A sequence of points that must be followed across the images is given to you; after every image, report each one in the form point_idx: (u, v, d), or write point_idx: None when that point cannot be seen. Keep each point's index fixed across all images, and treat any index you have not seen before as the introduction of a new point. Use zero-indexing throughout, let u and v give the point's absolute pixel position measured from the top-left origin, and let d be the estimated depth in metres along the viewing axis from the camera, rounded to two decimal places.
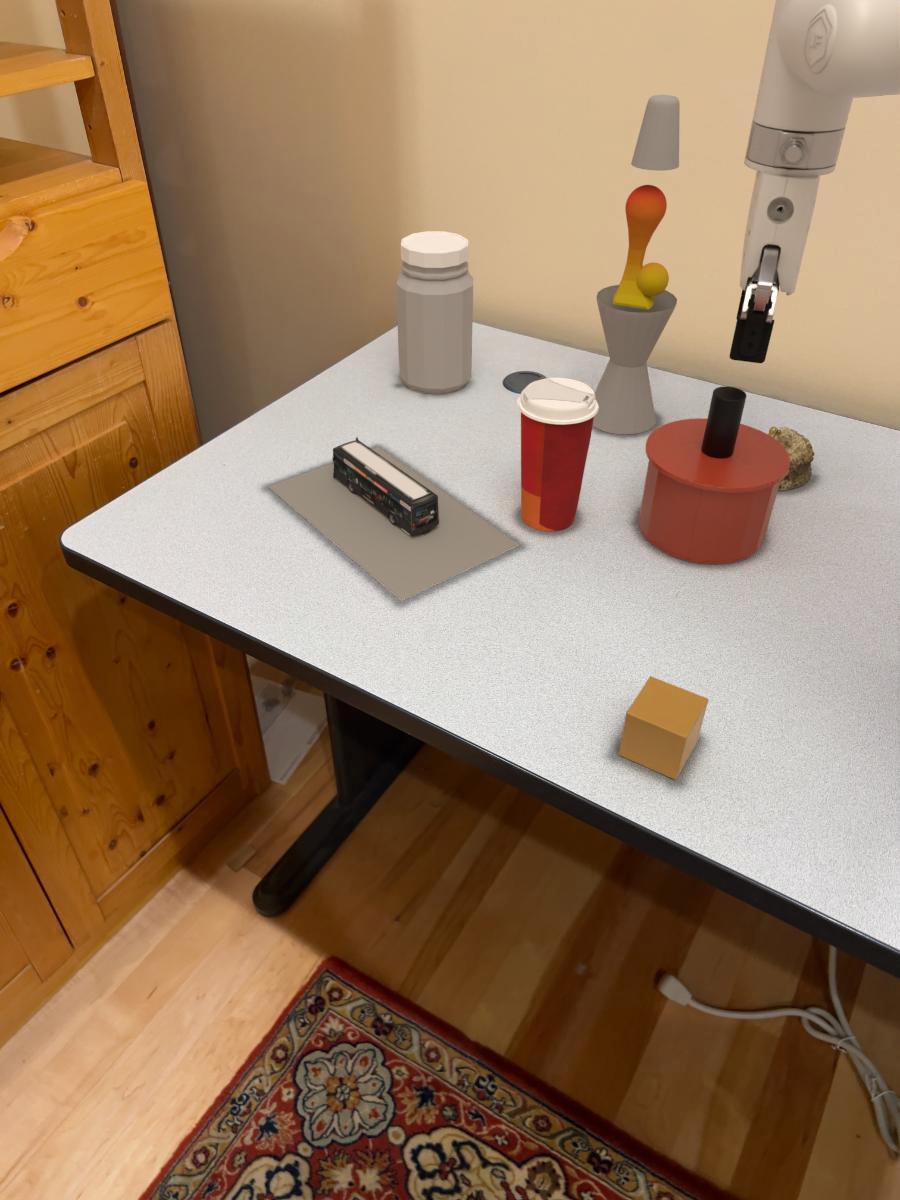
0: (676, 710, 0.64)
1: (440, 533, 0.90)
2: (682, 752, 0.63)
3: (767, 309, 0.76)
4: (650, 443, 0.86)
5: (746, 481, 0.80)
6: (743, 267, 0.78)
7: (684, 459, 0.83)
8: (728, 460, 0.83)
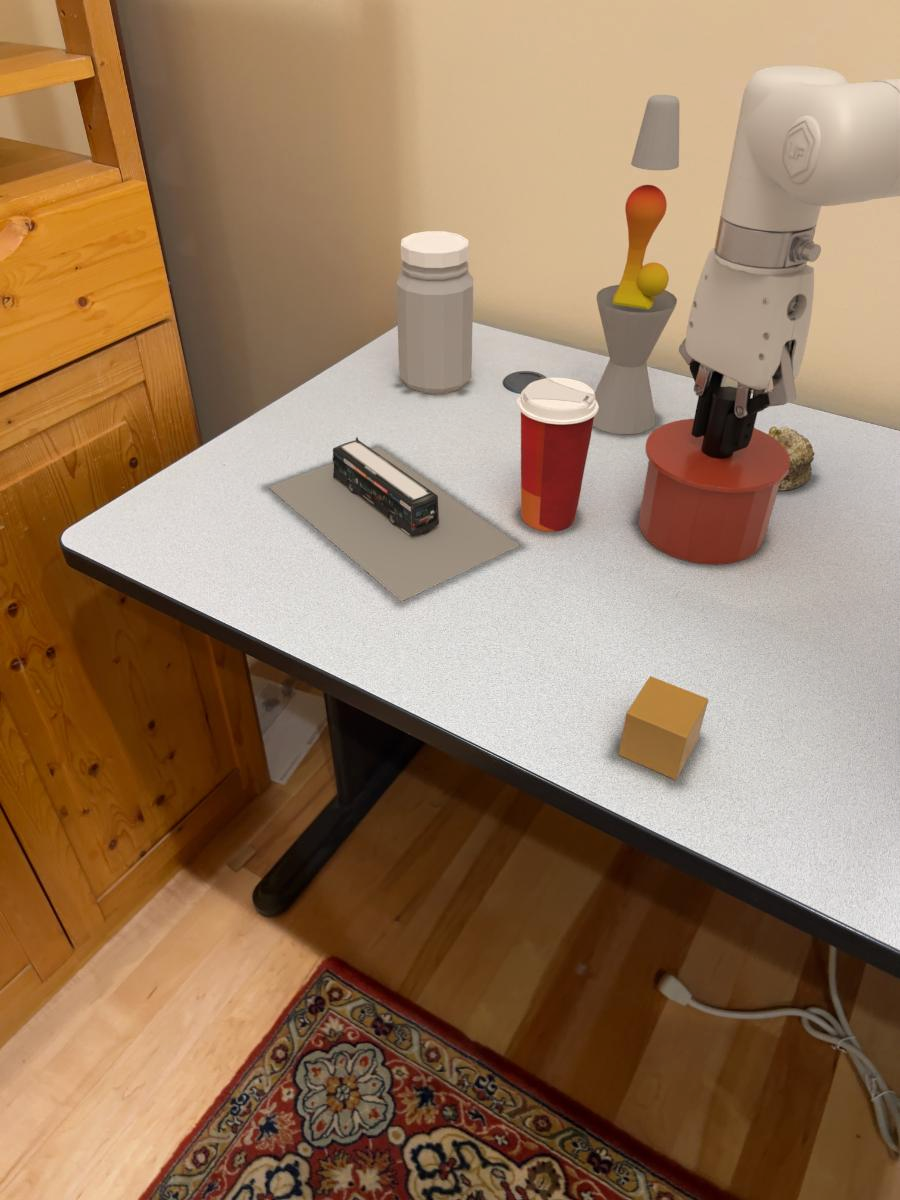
0: (676, 710, 0.64)
1: (440, 533, 0.90)
2: (682, 752, 0.63)
3: None
4: (650, 443, 0.86)
5: (746, 481, 0.80)
6: (763, 369, 0.74)
7: (684, 459, 0.83)
8: (728, 460, 0.83)
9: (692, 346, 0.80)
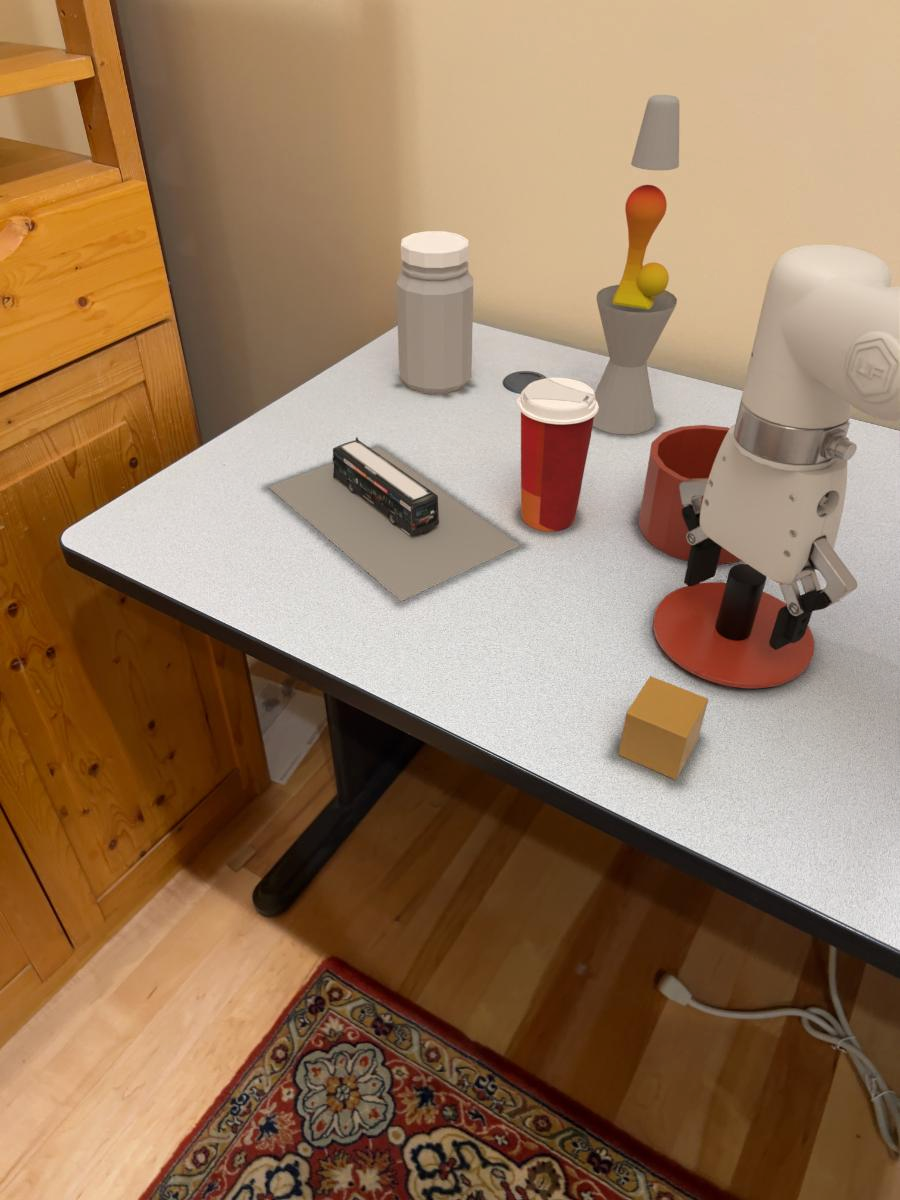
0: (676, 710, 0.64)
1: (440, 533, 0.90)
2: (682, 752, 0.63)
3: (837, 601, 0.66)
4: (658, 618, 0.77)
5: (766, 674, 0.72)
6: (789, 566, 0.66)
7: (697, 642, 0.75)
8: (745, 643, 0.75)
9: (707, 525, 0.72)
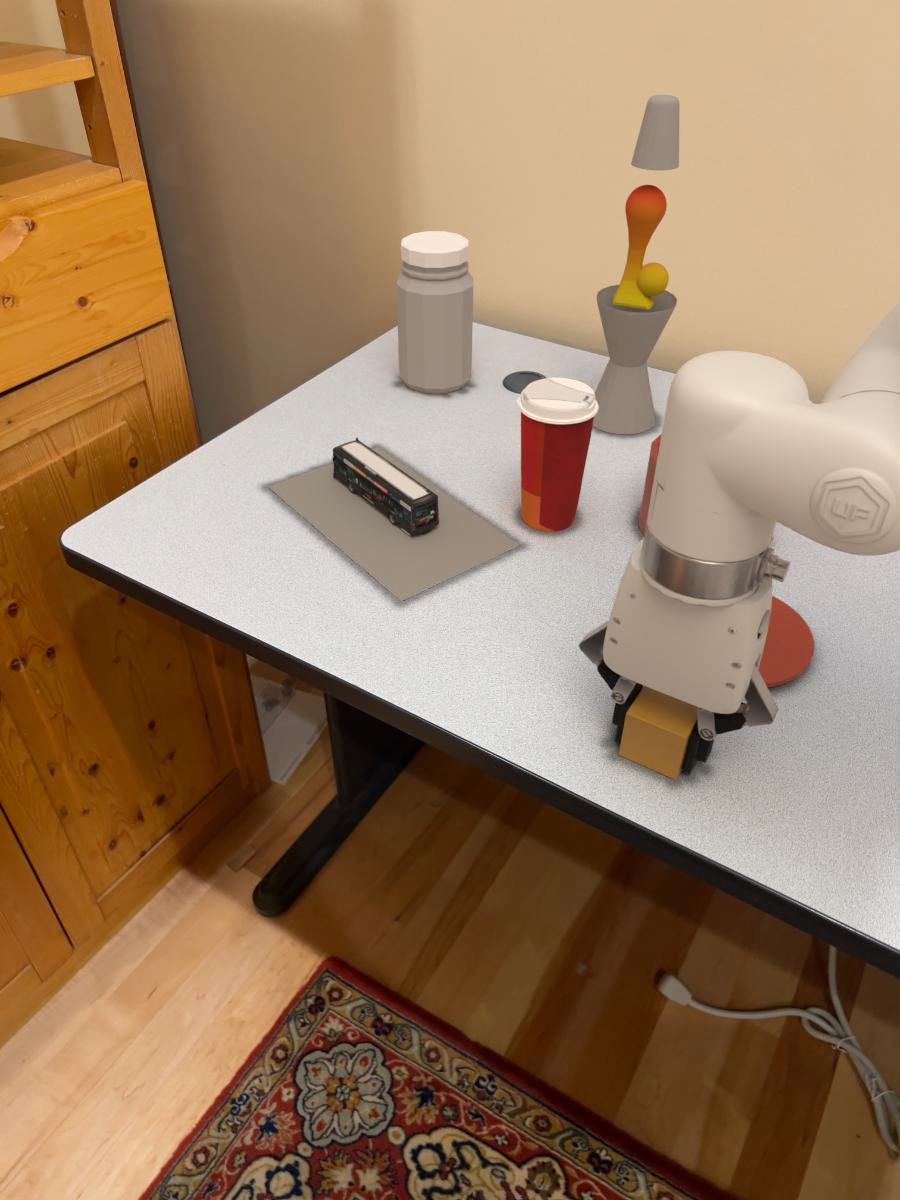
0: (676, 710, 0.64)
1: (440, 533, 0.90)
2: (682, 752, 0.63)
3: None
4: None
5: (766, 674, 0.72)
6: (734, 697, 0.58)
7: None
8: None
9: (617, 663, 0.62)
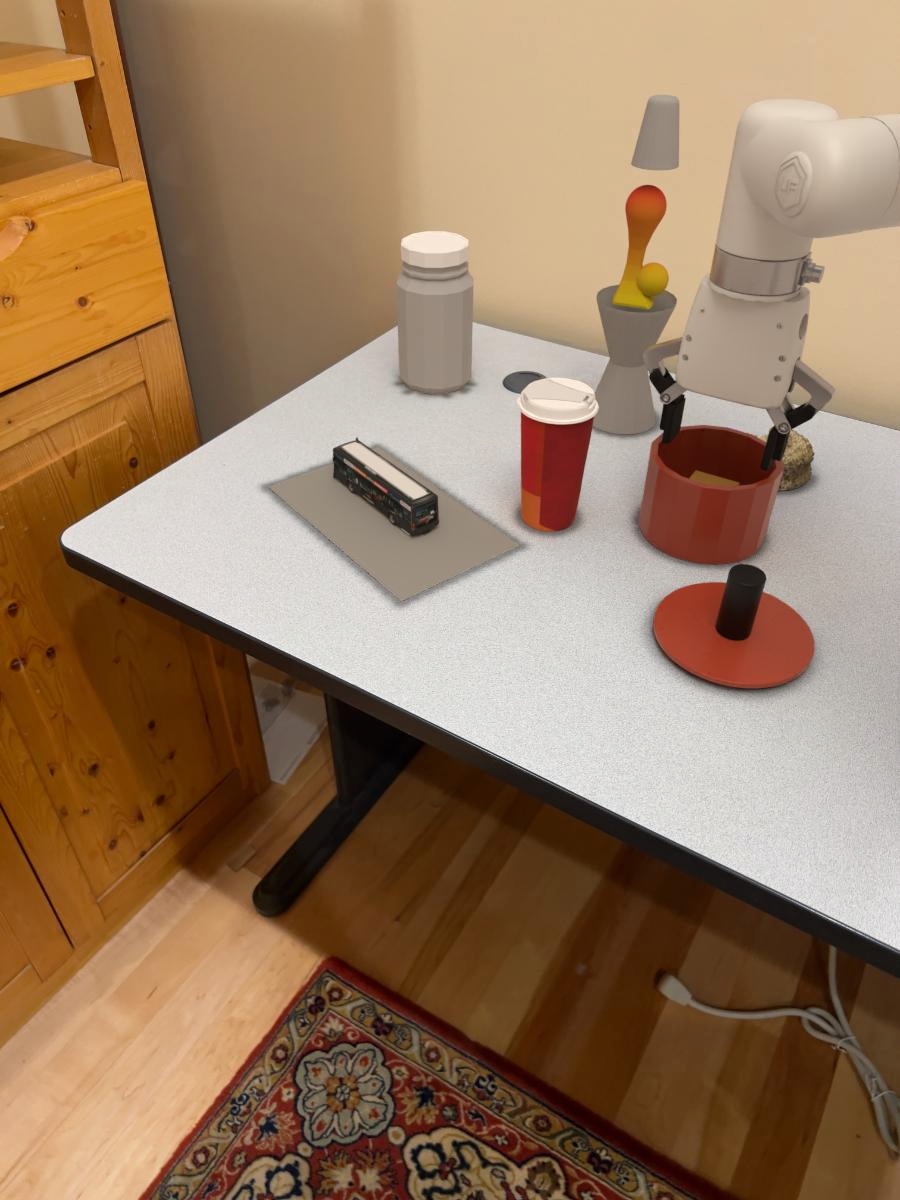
0: None
1: (440, 533, 0.90)
2: None
3: None
4: (658, 618, 0.77)
5: (766, 674, 0.72)
6: (780, 389, 0.76)
7: (697, 642, 0.75)
8: (745, 643, 0.75)
9: (687, 378, 0.80)
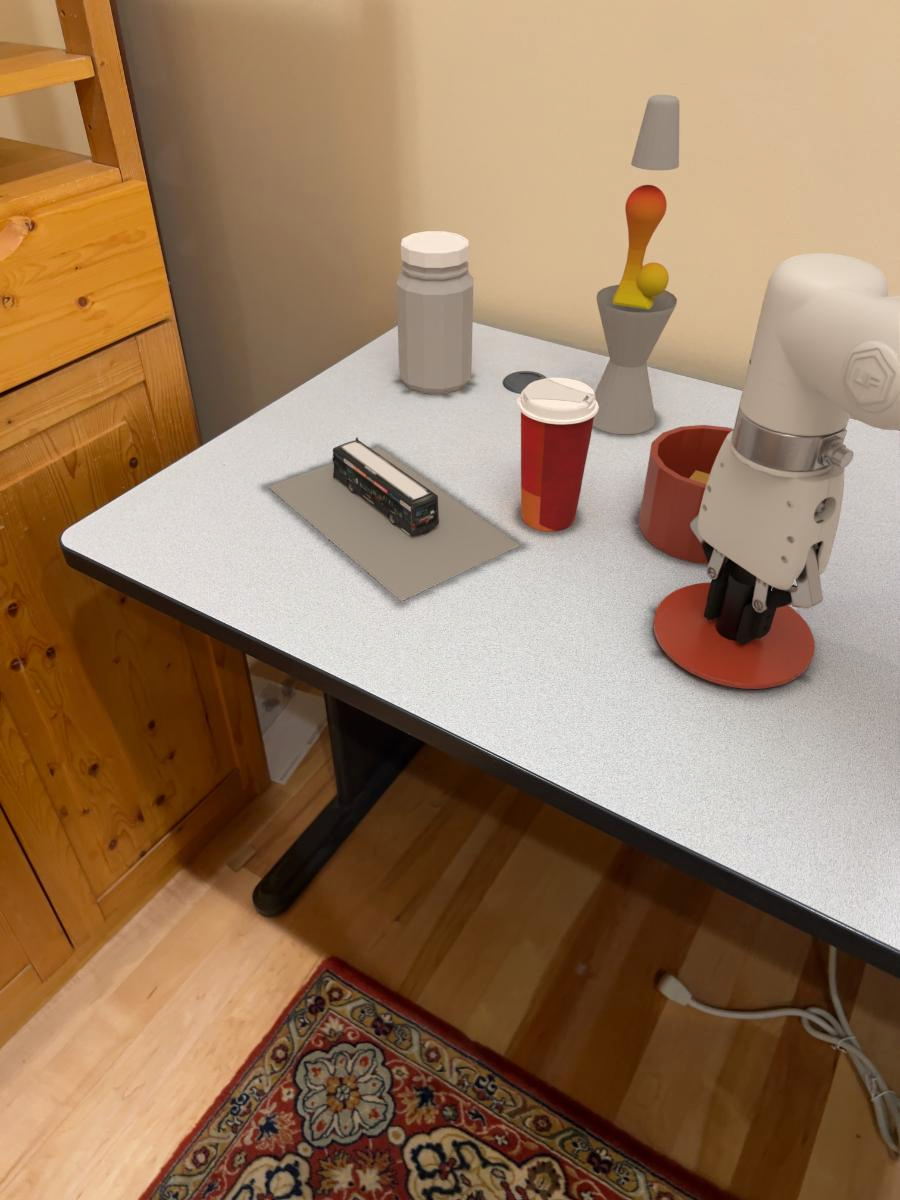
0: None
1: (440, 533, 0.90)
2: None
3: None
4: (659, 618, 0.77)
5: (767, 674, 0.72)
6: (786, 572, 0.66)
7: (697, 642, 0.75)
8: (746, 643, 0.75)
9: (705, 530, 0.72)
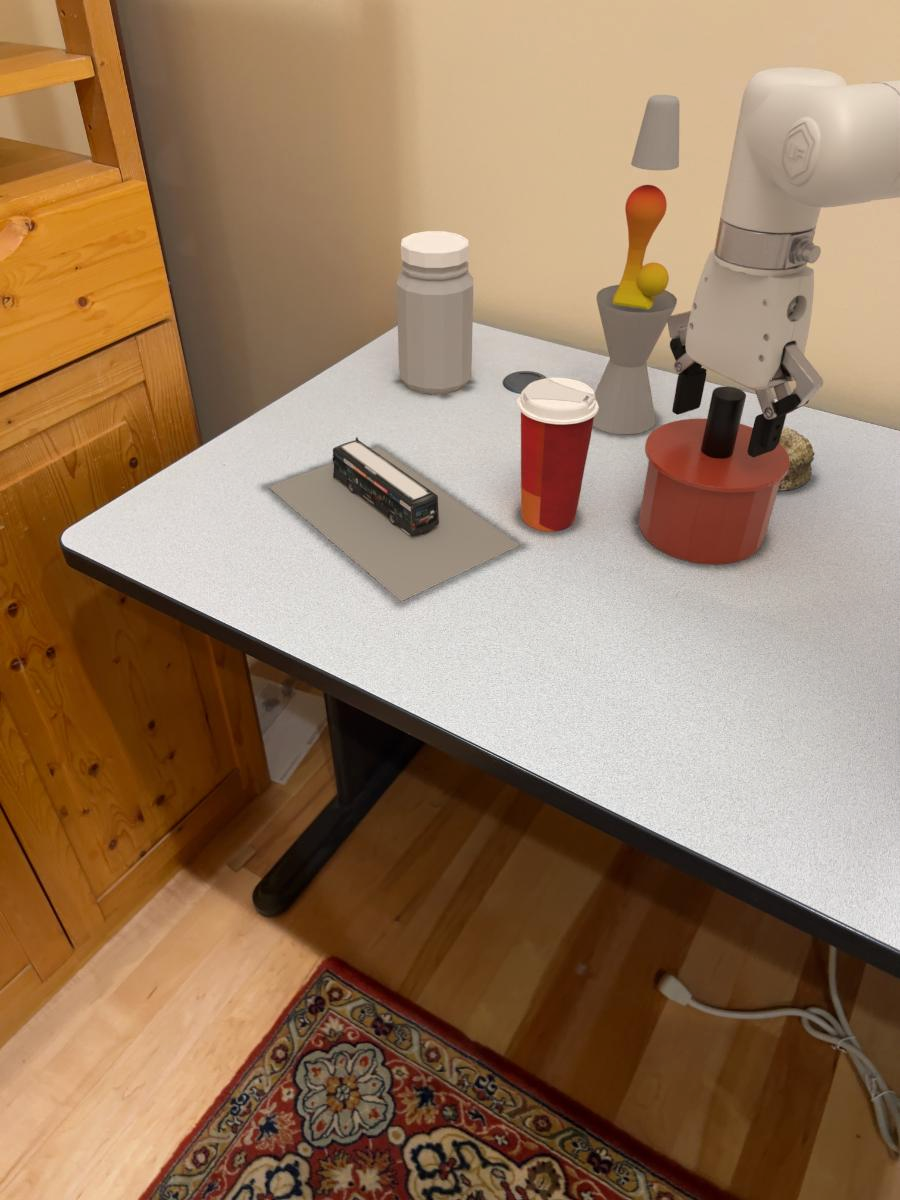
0: None
1: (440, 533, 0.90)
2: None
3: (807, 402, 0.75)
4: (650, 443, 0.86)
5: (746, 481, 0.80)
6: (763, 370, 0.74)
7: (684, 460, 0.83)
8: (728, 460, 0.83)
9: (692, 347, 0.80)
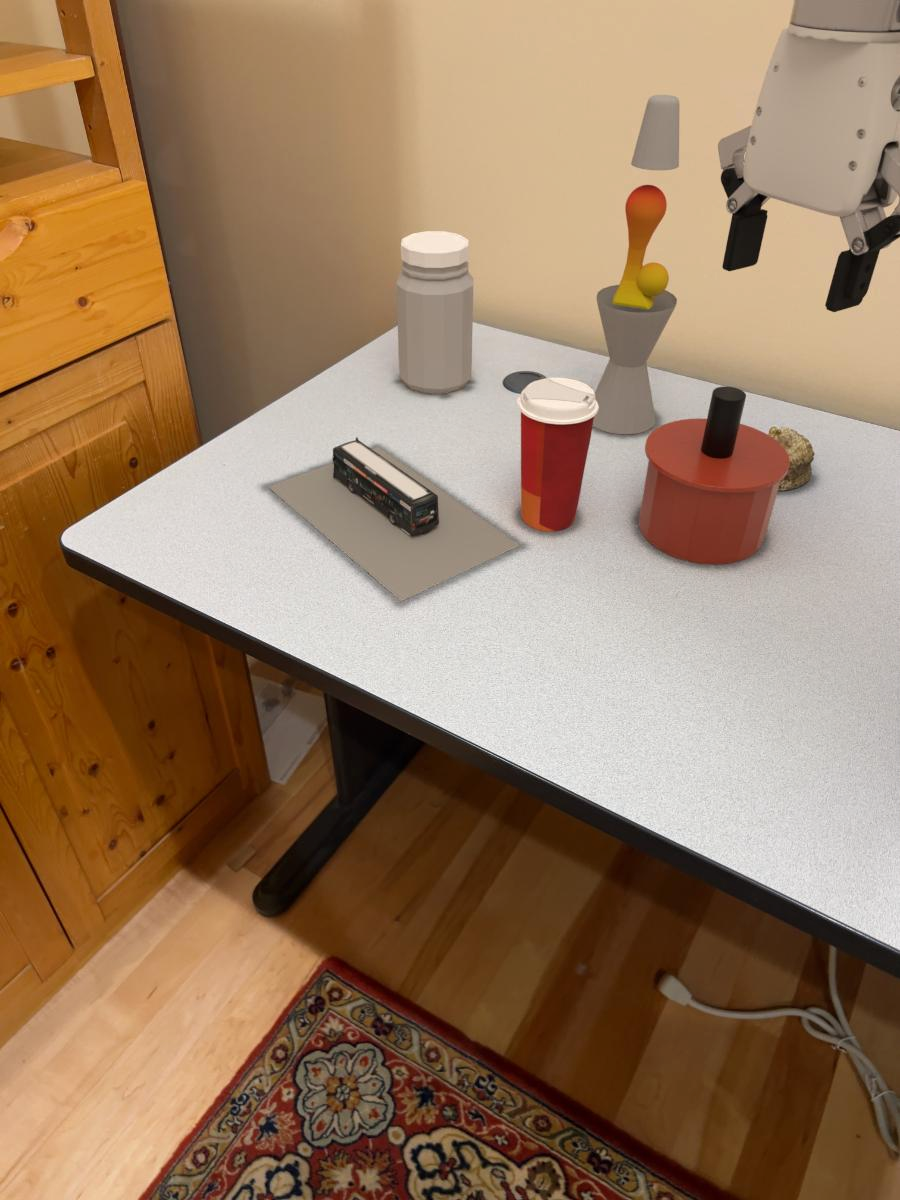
0: None
1: (440, 533, 0.90)
2: None
3: None
4: (650, 443, 0.86)
5: (746, 481, 0.80)
6: (854, 183, 0.56)
7: (684, 460, 0.83)
8: (728, 460, 0.83)
9: (753, 171, 0.62)
